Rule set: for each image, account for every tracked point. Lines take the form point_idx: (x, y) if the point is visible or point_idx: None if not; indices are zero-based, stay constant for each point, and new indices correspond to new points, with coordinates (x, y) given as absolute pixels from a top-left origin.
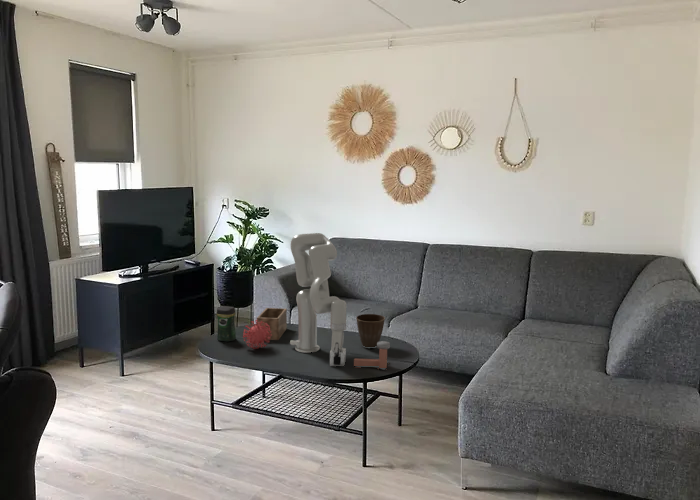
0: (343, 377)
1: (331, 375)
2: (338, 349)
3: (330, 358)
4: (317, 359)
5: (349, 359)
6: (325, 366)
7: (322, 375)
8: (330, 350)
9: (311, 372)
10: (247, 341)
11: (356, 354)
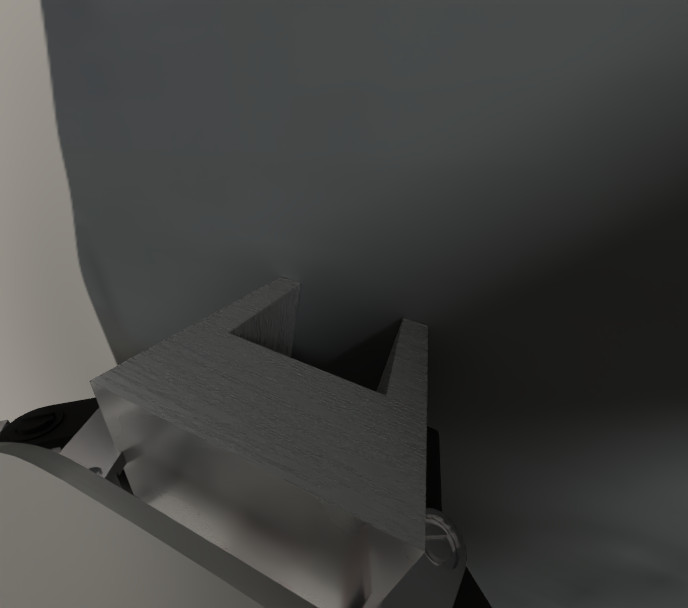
0: (102, 324)
1: (100, 253)
2: (269, 564)
3: (213, 321)
4: (613, 112)
5: (448, 485)
6: (272, 229)
7: (71, 174)
8: (186, 429)
9: (83, 30)
10: None
11: (582, 584)
